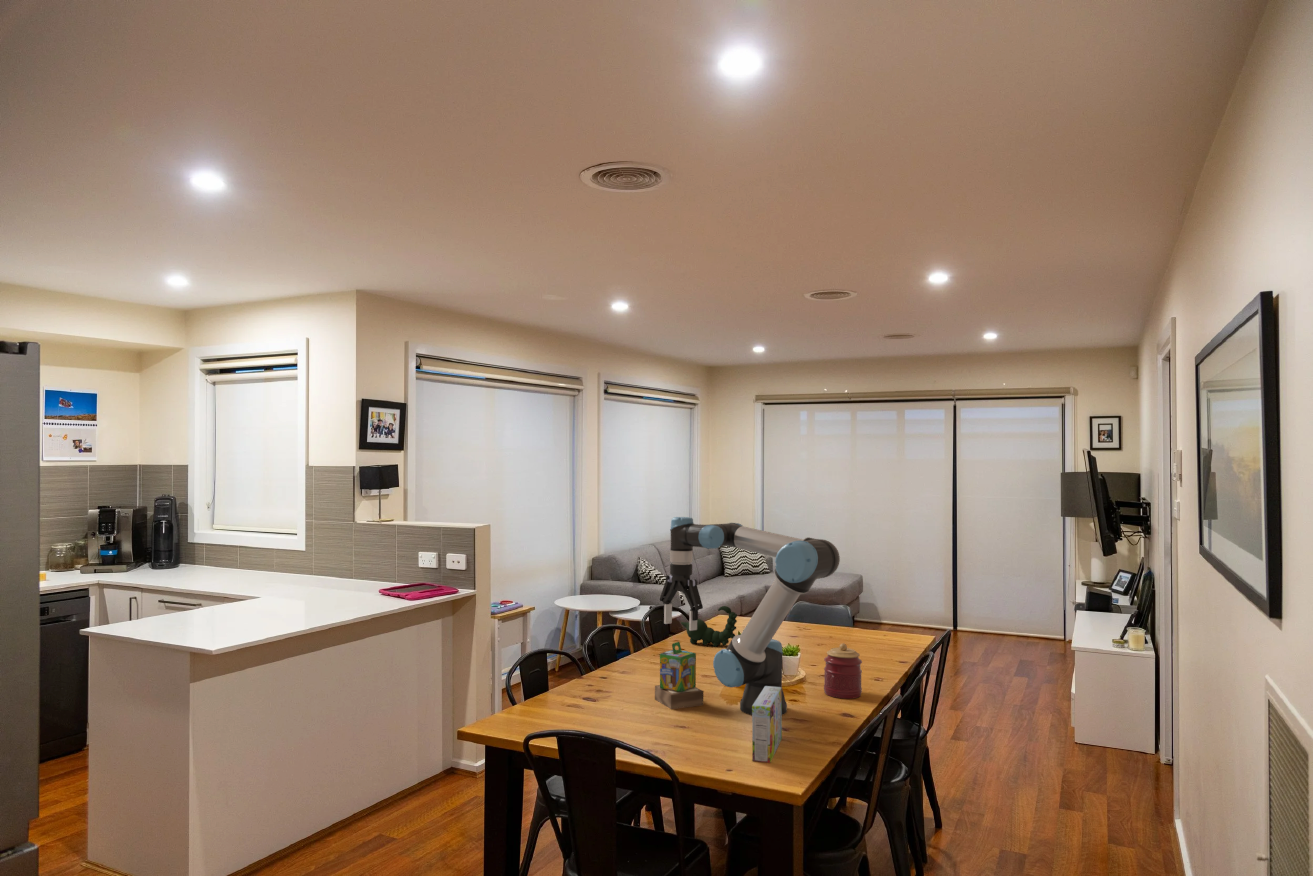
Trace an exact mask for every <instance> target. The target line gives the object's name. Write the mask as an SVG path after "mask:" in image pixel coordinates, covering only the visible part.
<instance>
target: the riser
mask: <svg viewBox="0 0 1313 876" xmlns="http://www.w3.org/2000/svg"><path fill="white" fill-rule="evenodd" d="M654 700H655V701H657V702H658V703H660V704H661V705H663V706H664V707H667V708H668V709H670V710H676V709H677V710H678V709H683V708H684V709H685V708H691V707H699V706H704V690H702V689H701V688H698V687H694V688H691V689H688V690H686V691H683V692H679V691H673V690H668V689H661V688H660V684H659V685H654Z"/></svg>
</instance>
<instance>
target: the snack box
mask: <svg viewBox="0 0 1313 876" xmlns="http://www.w3.org/2000/svg"><path fill="white" fill-rule="evenodd" d="M751 716H752V717H751V718H752V719H751V723H752V724H751V725H752V729H751V730H752V731H751V733H752V736H751V737H752V739H751V740H752V742H751V743H752V745H751V747H752V756H751V757H752V759H751V761H752V762H758V763H766V764H767V763H768V764H770V763H771V762H772V760H773V758H774V756H775V754H776V751H778V748H779V746H780V743H781V742H782V739H783V723H782V721H783V720H782V719H783V717H782V692H781V687H773V686H765V687H764V688H763V690H762V692H761V693H760V695H759V696H758V698H757V699H756V701H755V702H754V704H753V705H752V715H751Z"/></svg>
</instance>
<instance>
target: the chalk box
mask: <svg viewBox="0 0 1313 876" xmlns="http://www.w3.org/2000/svg"><path fill="white" fill-rule="evenodd" d="M671 647H672V650H666V651H664V652H661V653H659V685H660V688H661V689H668V690H673V691H679V692H683V691H686V690H688V689H691V688H694V687H696V686H697V684H696V683H697V682H696V681H697V678H696V677H697V672H696V671H697V653H695V652H691V651H687V650H682V647H681V642H680V641H676V642H673V643H672V644H671ZM676 647H678V649H676Z"/></svg>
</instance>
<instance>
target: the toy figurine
mask: <svg viewBox="0 0 1313 876" xmlns="http://www.w3.org/2000/svg"><path fill="white" fill-rule="evenodd" d="M717 610H718V611H724V612H725V613H726V614H728V618H727V619H726V624H725V627H724V629H723V630H722V631H719V630H715V629H714V628H713V627H709V626H708V624H707V623H706V621H704V620H702V619H701V618H698V620H697V630H692V631H690V630H689V621H685V622H684V621H681V622H680V624H681V626H683V627H684V628H685V629H686V634H687V636H688V637H689V638H690V639H689V642H690V644H692V645H695V643H696V644H697V643H698V641H702V645H704V646H707V645H709V644H712V647H714V648H716V647H718V646H720V645H721V644H722V645H723V646H727V644H728V645H729V644H730V640H729V639H731V640H732V639H733V637H734V636H736V634H735V633H734V631H735V630H737V626H736V623H737V622H738V620H737V618H738V614H737V613H736V612H734V611H732V609H731V608H730V606H726V605H722V606H720V607H718V609H717Z"/></svg>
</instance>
